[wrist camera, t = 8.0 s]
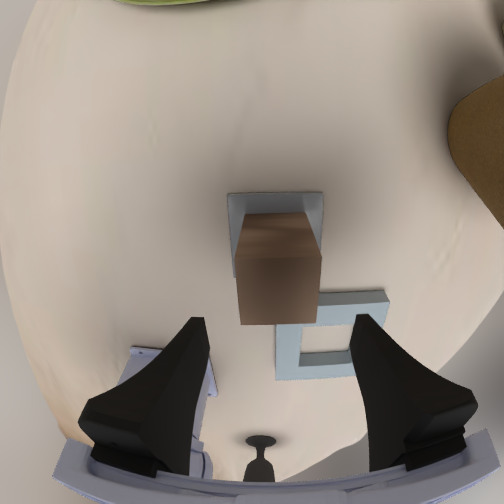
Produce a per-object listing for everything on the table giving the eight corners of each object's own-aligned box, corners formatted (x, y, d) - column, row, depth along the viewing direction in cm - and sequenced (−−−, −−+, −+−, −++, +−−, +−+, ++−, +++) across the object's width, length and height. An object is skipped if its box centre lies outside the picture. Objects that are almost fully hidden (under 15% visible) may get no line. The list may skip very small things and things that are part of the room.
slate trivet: (234, 275, 24) (233, 277, 23) (227, 193, 20) (226, 195, 20) (317, 273, 23) (318, 276, 23) (322, 192, 20) (323, 193, 20)
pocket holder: (275, 367, 29) (275, 380, 27) (276, 294, 24) (276, 307, 23) (363, 362, 28) (366, 374, 26) (383, 290, 24) (390, 301, 22)
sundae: (288, 437, 37) (289, 519, 24) (270, 450, 40) (267, 523, 27) (250, 430, 36) (244, 517, 23) (235, 443, 39) (226, 519, 26)
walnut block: (248, 267, 23) (240, 324, 16) (244, 214, 21) (234, 258, 14) (304, 265, 22) (315, 323, 16) (305, 212, 20) (321, 256, 14)
